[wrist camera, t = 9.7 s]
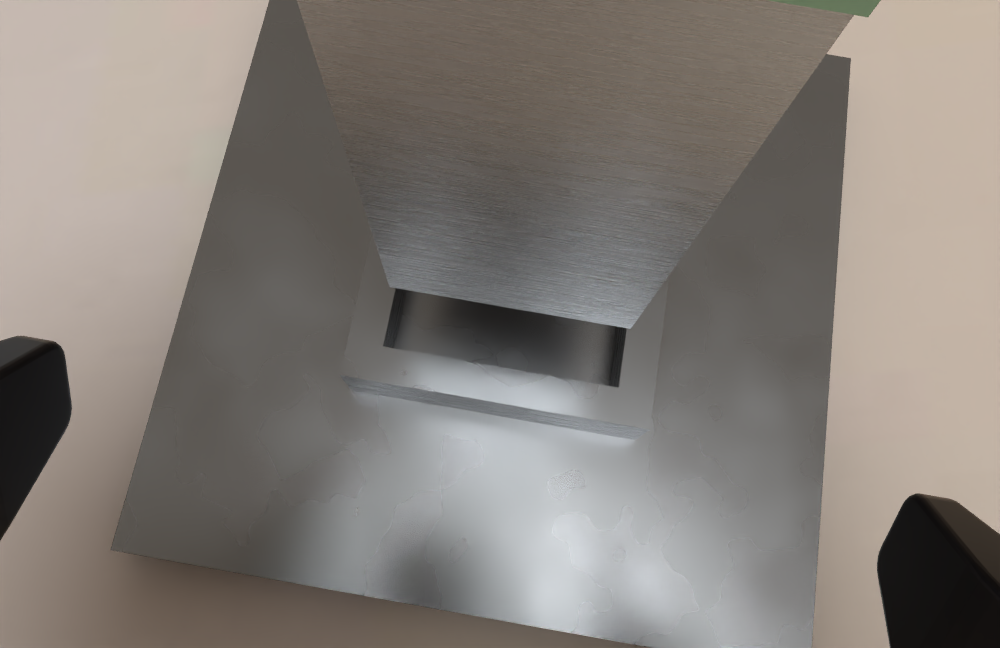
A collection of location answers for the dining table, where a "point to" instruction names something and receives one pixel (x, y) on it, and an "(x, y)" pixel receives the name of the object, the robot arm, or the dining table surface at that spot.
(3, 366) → the robot arm
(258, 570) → the grey square stand
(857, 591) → the dining table surface
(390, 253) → the jack column
